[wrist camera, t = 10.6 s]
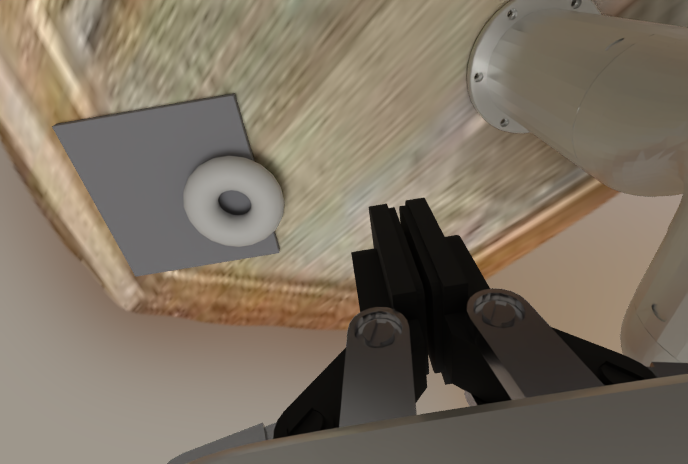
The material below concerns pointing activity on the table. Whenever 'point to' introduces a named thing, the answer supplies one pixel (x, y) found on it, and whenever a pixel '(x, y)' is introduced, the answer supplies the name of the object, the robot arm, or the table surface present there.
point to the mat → (160, 179)
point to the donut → (237, 177)
